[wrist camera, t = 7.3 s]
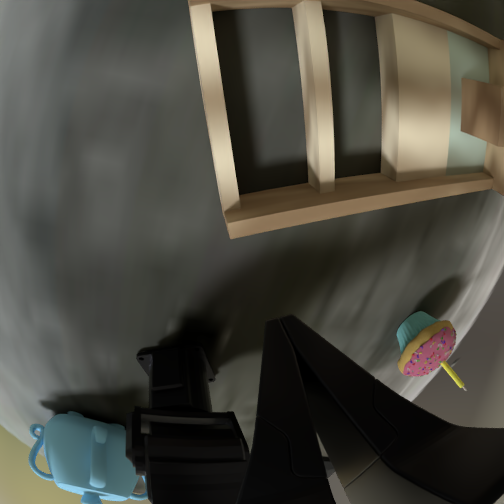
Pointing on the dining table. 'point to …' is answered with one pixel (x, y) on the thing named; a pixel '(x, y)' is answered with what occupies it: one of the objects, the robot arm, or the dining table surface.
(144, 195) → the dining table surface
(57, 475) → the decorative pot
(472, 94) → the walnut block
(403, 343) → the cupcake
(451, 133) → the board
